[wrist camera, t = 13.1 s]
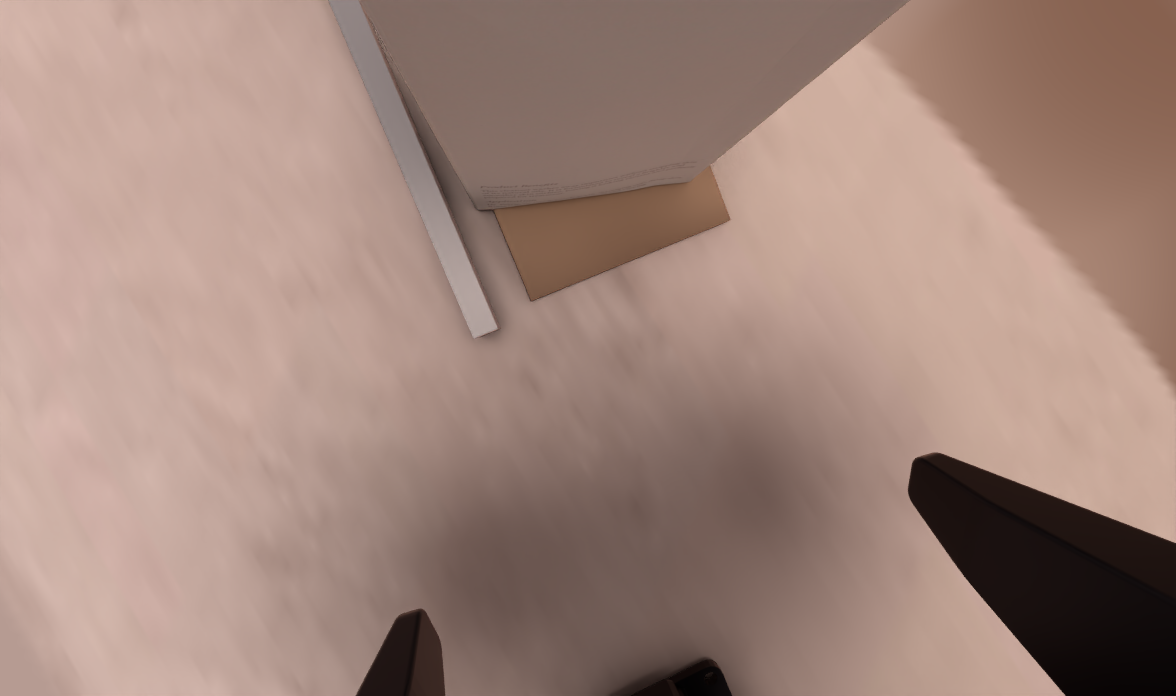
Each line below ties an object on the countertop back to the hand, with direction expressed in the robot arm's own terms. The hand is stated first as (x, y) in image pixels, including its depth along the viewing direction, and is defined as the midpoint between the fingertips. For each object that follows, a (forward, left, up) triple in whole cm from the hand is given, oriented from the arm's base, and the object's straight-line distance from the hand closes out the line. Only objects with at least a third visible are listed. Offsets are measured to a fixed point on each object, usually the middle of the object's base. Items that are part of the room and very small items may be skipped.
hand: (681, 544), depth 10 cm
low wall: (+13, +2, -11) cm, 17 cm away
